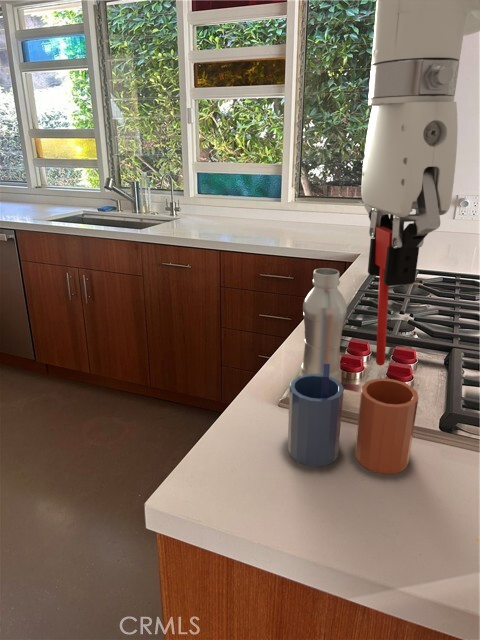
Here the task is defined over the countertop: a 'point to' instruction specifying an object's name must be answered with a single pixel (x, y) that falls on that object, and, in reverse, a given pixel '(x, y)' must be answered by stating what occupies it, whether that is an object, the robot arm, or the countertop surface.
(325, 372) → the navy spoon
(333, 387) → the blue cup
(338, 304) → the silver bottle
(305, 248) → the countertop surface
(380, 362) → the red spatula
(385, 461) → the terracotta cup
